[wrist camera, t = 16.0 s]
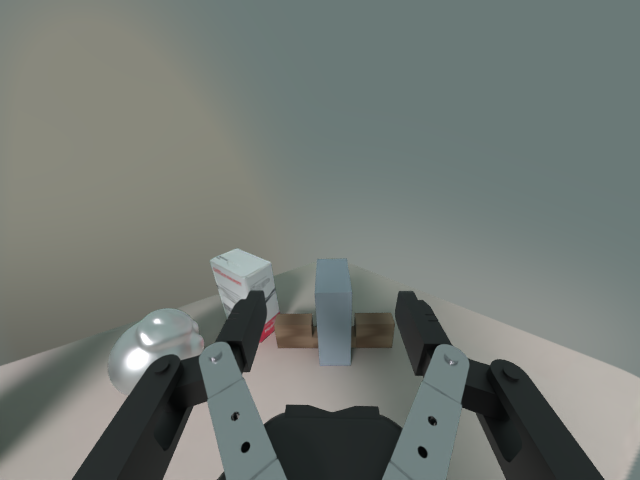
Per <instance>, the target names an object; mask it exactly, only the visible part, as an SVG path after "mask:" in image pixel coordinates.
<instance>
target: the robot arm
mask: <svg viewBox="0 0 640 480" xmlns="http://www.w3.org/2000/svg"><path fill="white" fill-rule="evenodd" d="M395 317H396V322H397V325H398V328H399V331H400V333H401V336H402V339H403V342H404V345H405V348H406V351H407V353H408V356H409V359H410V362H411V365H412V368H413V371H414V373H415V376H423V378H424V379H423V380H422V382H421V385H420V387H419V390H418V392H417V395H416V397H415V400H414V402H413V405H412V407H411V410H410V412H409V415H408V417H407V420H406V422H405V425H404V427H403V428H401V427H400V426H399V425H398V424H397V423H395V422H394V421H392V420H391V419H389V418H387V417H385V416H382V415H380V414H379V409H378V407H376V406H354V407H350V408H347V409H343V410H340V411H336V412H328V411H325V410H322V409H319V408H316V407H313V406H310V405H286V410H285V413H281V414H279V415H277V416H275V417H273V418H272V419H270V420H269V421H267V422H266V423H265V424H264V425H263V423H262V420H261V418H260V415H259V413H258V411H257V408H256V406H255V403H254V401H253V399H252V396H251V394H250V391H249V389H248V386H247V384H246V382H245V379H244V378H243V377H242V373H243V372H250V370H251V367H252V364H253V361H254V357H255V354H256V351H257V348H258V345H259V341H260V338H261V335H262V332H263V329H264V325H265V322H266V319H267V306H266V301H265V295H264V291H263V290H250V291H249V293H248V296H247V298H246V299H240V300H239V301H238V302H237V303H236V304H235V305H234V307H233V309H232V311H231V313H230V314H229V316H228V319H227V320H226V322H225V324H224V326H223V328H222V330H221V332H220V334H219V336H218V338H217V340H216V342H215V343H213V344H211V345H209V346H208V347H206V348H205V349H204V350H203V351H202V353H201V354H200V355H198V356H195V357H191V358H187V359H184V360H180V358H179V357H178V356H177V355H174V354H169V355H165V356H162V357H160V358H158V359H157V360H155V361H154V362H153V363H151V364H150V365H149V367H148V368H147V369H146V371H145V372H144V374H143V375H142V377H141V378H140V380H139V381H138V383H137V384H136V385H135V387H134V388H133V390H132V391H131V393H130V394H129V396H128V397H127V399H126V400H125V402H124V403H123V405H122V406H121V408H120V409H119V411H118V412H117V414H116V415H115V416H114V418H113V419H112V421H111V422H110V424H109V425H108V427H107V428H106V430H105V431H104V433H103V434H102V436H101V437H100V439H99V440H98V442H97V443H96V445H95V446H94V447H93V449H92V450H91V452H90V453H89V455H88V456H87V458H86V459H85V461H84V462H83V464H82V465H81V467H80V468H79V470H78V471H77V473H76V474H75V476H74V477H73V478H72V480H163V477H164V475H165V473H166V470H167V468H168V466H169V463H170V461H171V458H172V456H173V454H174V451H175V449H176V447H177V444H178V442H179V439H180V437H181V435H182V432H183V430H184V428H185V425H186V423H187V420H188V418H189V416H190V413H191V411H192V409H193V406H194V405H197V404H200V403H203V402H206V401H207V402H208V407H209V411H210V415H211V419H212V423H213V427H214V431H215V435H216V439H217V444H218V448H219V452H220V456H221V460H222V464H223V468H224V472H223V473H222V474H221V475H220V477H219V478H218V479H217V480H446V477H447V472H448V468H449V463H450V459H451V454H452V450H453V445H454V441H455V436H456V432H457V427H458V423H459V419H460V414H461V409H462V408H465V409H468V410H471V411H473V412H475V413H476V415H477V417H478V419H479V421H480V423H481V426H482V428H483V430H484V432H485V434H486V437H487V439H488V441H489V443H490V445H491V447H492V450H493V452H494V454H495V456H496V458H497V460H498V463H499V465H500V467H501V469H502V471H503V474H504V476H505V478H506V480H605V479H604V478H603V477H602V475H601V474H600V473H599V471H598V470H597V469H596V467H595V466H594V465H593V463H592V462H591V460H590V459H589V458H588V456H587V455H586V454H585V452H584V451H583V450H582V448H581V447H580V446H579V444H578V443H577V441H576V440H575V439H574V437H573V436H572V435H571V433H570V432H569V431H568V429H567V428H566V427H565V425H564V424H563V422H562V421H561V420H560V418H559V417H558V416H557V414H556V413H555V412H554V410H553V409H552V407H551V406H550V405H549V403H548V402H547V401H546V399H545V398H544V397H543V395H542V394H541V393H540V391H539V390H538V388H537V387H536V386H535V384H534V383H533V382H532V380H531V379H530V378H529V376H528V375H527V374H526V373H525V372H524V371H523V370H522V369H521V368H520V367H518V366H517V365H515V364H513V363H511V362H509V361H506V360H501V359H497V360H494V361H492V363H491V365H487V364H484V363H480V362H477V361H473V360H470V359H468V358H467V357H466V355H465V354H464V353H463V352H462V351H461V350H459V349H458V348H456V347H454V346H452V344H451V342H450V341H449V339H448V337H447V335H446V333H445V332H444V330H443V328H442V326H441V325H440V323H439V322H438V319H437V318H436V316H435V314H434V312H433V310H432V309H431V307H430V306H429V305H428V304H427V303H426V302H424V301H423V300H418V299H417V297H416V295H415V293H414V292H413V291H399V293H398V298H397V304H396V309H395Z"/></svg>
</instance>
